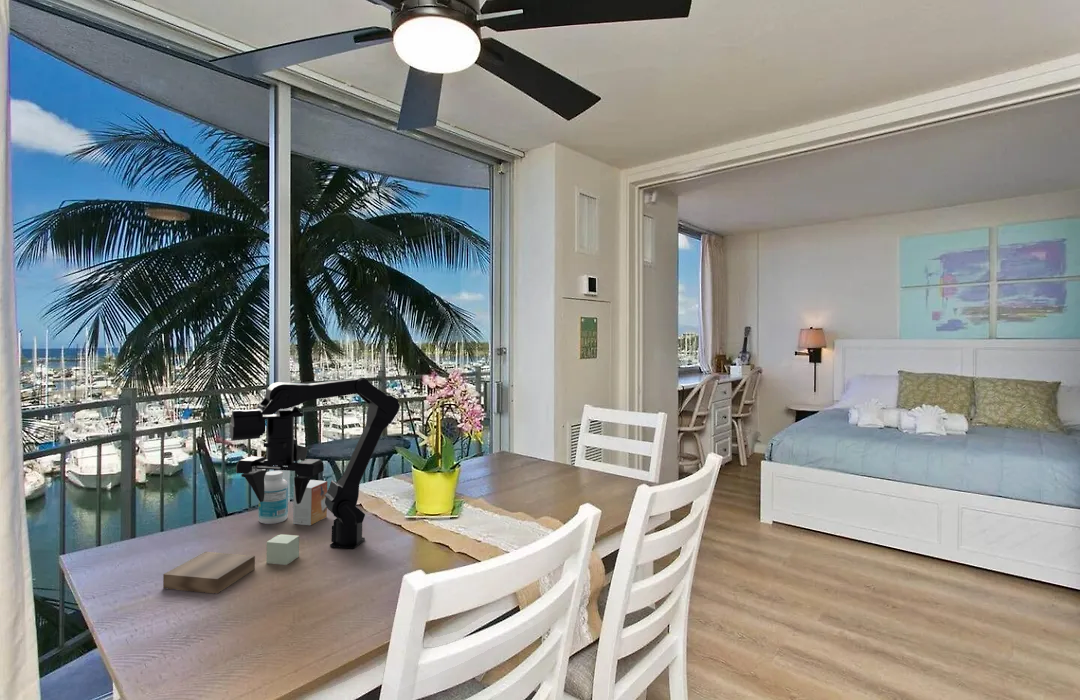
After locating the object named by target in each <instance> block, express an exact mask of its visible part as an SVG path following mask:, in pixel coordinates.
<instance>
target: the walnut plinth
mask: <svg viewBox="0 0 1080 700" xmlns="http://www.w3.org/2000/svg"><path fill="white" fill-rule="evenodd" d="M255 564H256V555H250V554H249V555H248V554H237V553H226V552H215V551H214V552H213V551H204V552H202V553H200V554H198V555H196V556H195V557H193V558H192V559H190V560H188V561H185V562H184V563H182V564H180V565H179V566H176V567H174V568H172V569H170V570H169V571H167V572H165V573H163V575H162V576H163V577H162V581H163V582H162V583H163V585H162V587H163V588H168V589H167V590H172V589H176V590H175V591H183V592H184V591H185V592H193V591H194V593H204V592H205V593H206V594H214V593H217V594H219V593H220V591H221V592H222V591H224V590H225V589H227V588H228V587H229V586H232V585H233V584H234V583H236V582H237V581H239V580H241V579H242V578H243V577H245V576H246V575H248V574H249V573H251V572H253V571H255V569H256V565H255Z"/></svg>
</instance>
